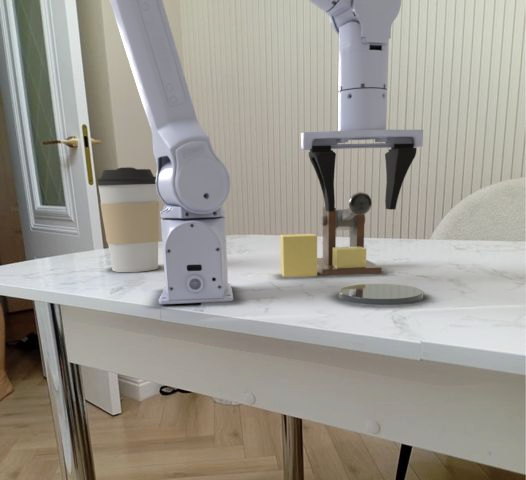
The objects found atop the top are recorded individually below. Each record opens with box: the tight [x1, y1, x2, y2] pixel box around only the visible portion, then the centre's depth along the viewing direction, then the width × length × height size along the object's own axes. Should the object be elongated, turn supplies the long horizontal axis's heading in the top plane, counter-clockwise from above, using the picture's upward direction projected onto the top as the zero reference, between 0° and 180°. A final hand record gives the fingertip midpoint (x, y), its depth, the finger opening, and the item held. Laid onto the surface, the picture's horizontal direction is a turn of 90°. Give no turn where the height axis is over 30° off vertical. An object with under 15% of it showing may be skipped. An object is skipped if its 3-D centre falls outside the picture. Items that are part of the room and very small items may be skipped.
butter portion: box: [280, 233, 318, 278], centre depth 79 cm, size 3×4×6 cm, turn 95°
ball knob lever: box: [336, 191, 373, 231], centre depth 78 cm, size 13×3×3 cm, turn 5°
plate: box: [338, 283, 424, 306], centre depth 64 cm, size 9×9×1 cm
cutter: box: [317, 206, 382, 277], centre depth 84 cm, size 12×8×9 cm, turn 5°
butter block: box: [332, 246, 367, 268], centre depth 81 cm, size 3×4×2 cm
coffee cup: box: [96, 166, 160, 273], centre depth 89 cm, size 9×9×15 cm
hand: (360, 210), depth 73 cm, fingers open, 7 cm apart
